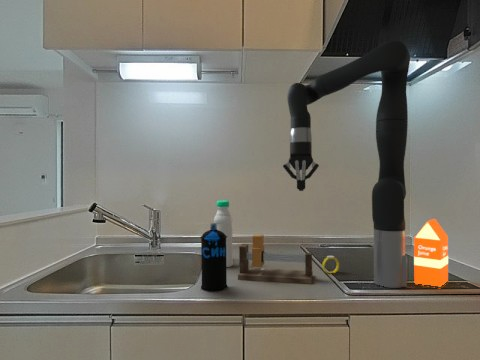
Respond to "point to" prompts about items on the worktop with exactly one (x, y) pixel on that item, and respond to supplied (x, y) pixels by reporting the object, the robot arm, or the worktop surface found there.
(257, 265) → the collar
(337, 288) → the worktop surface
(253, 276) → the rig
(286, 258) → the grey square bar
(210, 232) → the aerosol can
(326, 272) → the watch
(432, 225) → the orange juice
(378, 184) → the robot arm
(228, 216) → the water bottle
